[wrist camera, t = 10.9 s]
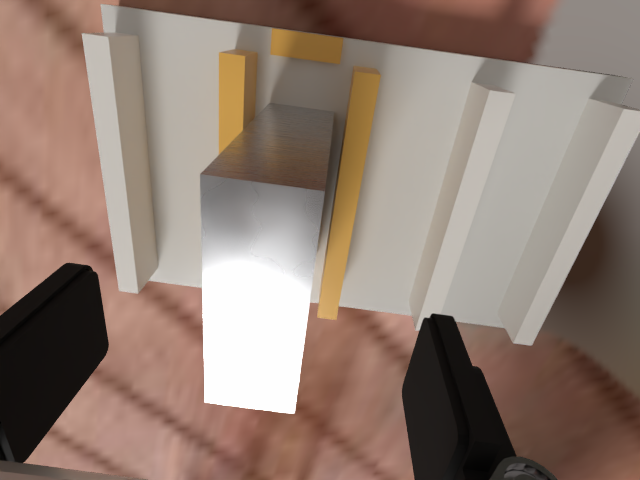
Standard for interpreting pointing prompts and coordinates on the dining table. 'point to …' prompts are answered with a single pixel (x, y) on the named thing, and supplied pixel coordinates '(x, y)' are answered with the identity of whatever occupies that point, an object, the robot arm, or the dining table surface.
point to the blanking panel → (262, 255)
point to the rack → (363, 161)
